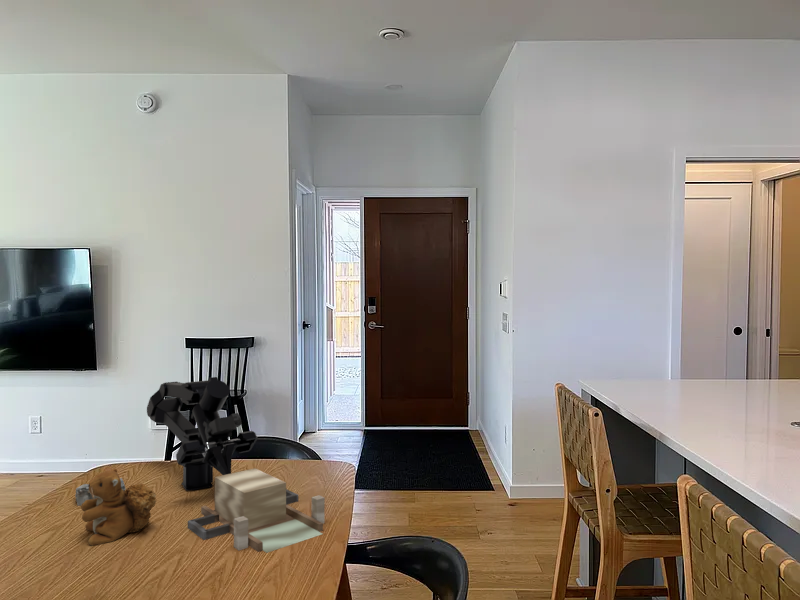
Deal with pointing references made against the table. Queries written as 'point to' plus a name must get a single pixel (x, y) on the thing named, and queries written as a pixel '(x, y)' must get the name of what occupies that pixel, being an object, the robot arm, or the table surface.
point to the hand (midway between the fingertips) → (228, 477)
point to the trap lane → (265, 527)
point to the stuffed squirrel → (115, 508)
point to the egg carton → (84, 495)
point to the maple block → (250, 497)
